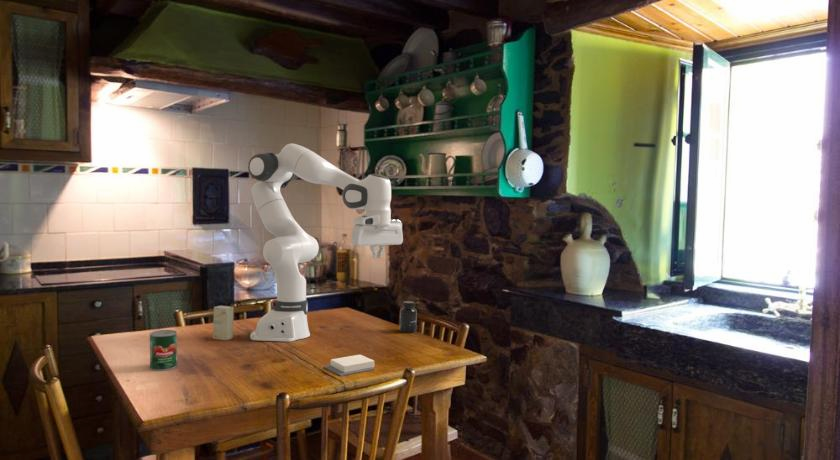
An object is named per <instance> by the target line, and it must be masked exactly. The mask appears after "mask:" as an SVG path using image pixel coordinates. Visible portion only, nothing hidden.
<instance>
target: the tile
mask: <svg viewBox="0 0 840 460" xmlns="http://www.w3.org/2000/svg"><path fill="white" fill-rule="evenodd" d="M330 365H331V366H332V367H334V368H336V369H338V370H340V371H342V372H344V373H346V372H351V371H357V370H362V369H367V368H375V366H376V365H375V360H374V359H372V358H369V357H367V356H365V355H363V354H354V355H348V356H344V357H338V358H337V357H336V358H331V359H330Z"/></svg>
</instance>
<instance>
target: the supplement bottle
mask: <svg viewBox="0 0 840 460" xmlns="http://www.w3.org/2000/svg"><path fill="white" fill-rule="evenodd" d="M415 303H416V302H415V301H410V300H407V301H402V308H401V309H400V310H399V331H400V332H401V333H406V334H413V333H416V332H417V322H418V321H417V320H418V319H417V317H418V312H417V311H418V310H417V309H416V307H415V306H416V304H415Z"/></svg>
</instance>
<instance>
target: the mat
mask: <svg viewBox="0 0 840 460" xmlns="http://www.w3.org/2000/svg"><path fill="white" fill-rule="evenodd" d="M323 367H324V369H326V370H328V371H330V372H332V373H334V374H336V375H338V376H340V377H342V376H348V374H349V375H353V373H355V374H359V372H360V373H364V372H365V373H366V372H370V371H374V370H375V367H372V368H367V369H362V370H357V371H351V372H346V373H344V372H342V371H340V370H338V369H336V368H334V367H332V366H331V364H328V365H324V366H323Z"/></svg>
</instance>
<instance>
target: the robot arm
mask: <svg viewBox="0 0 840 460" xmlns="http://www.w3.org/2000/svg"><path fill="white" fill-rule="evenodd" d="M247 168H248V169H247V170H248V173H249V175H250V176H251V177H252V178H253V179H254V180H257V182H255V183H254V185H252V187H251V195H252V196H251V197H252V199H253V202H254V206H255V208H256V212H257V213H258V215H259V217H260V219H261V222H262V223H263V226H264V228H265V230H267V232H269V233H270V234H272V235H274V236H275V237H274V238H271V239H269V240H267V241H266V242H265V243H264V246H263V248H262V255H263V258H264V260H265V261H266V263H267V264H269V265H270V266H271V267H272V271H273V272H274V275H275V280H276V298H274V299H272V300H271V310H270V311H268V312H267V313H265V314H264V315H263V316H262V317H261V318H260V319H258V321H257V324H256V329H255V330H253V331H252V332H251V333H250V335H249V338H250V340H252V341H263V342H266V341H268V342H290V343H291V342H294V341H296V340H303V339H305V338H308V337H310V336H311V333H310V330H309V329H310V328H309V325H308V315H307V314H308V309H309V307H308V305H309V304H308V303H309V302H308V299H307V279H306V278H305V277H304V275H302V274H301V273H300V270H299V264H302V263H307V262H309V261H312V260H313V259H314V258H317V255H318V254H319V249H320V245H319V242H318V241H317V239H316V238H315V237H313V236H312V235H310V234H308V233H307V232H306V231H305V230H304V229H303V228H302V226H300V224H299V223H298V222H297V221H296V220H295V217H293V215H292V212H291V211H290V209H289V208H288V205H287V203H286V201H285V199H284V197H283V195H282V192H281V188H282V189H284V188H286V187H287V186H288V185H289V183H291V182H292V181H294V179H295V178H296V177H298V178H300V179H301V180H304V181H305V182H308V183H312V184H315V185H326V186H327V185H328V186H333V187H336V188H339V189H341V190H342V193H341V194H342V195H341V198H342V202H343V204H344V205H345V206H346V207H347V208H348V209H352V210H365V211H366V212H365V214H363V215H360V216H356V217H354V218H353V224H354V225H353V226H352V229H351V239H350V241H351V244H352V246H356V247H369V248H370V251H371V253H372V258H373V259H381V258H383V252H384V250H385V249H386V246H395V245H398V246H399V245H402V244H403V242H404V237H403V236H404V235H403V222H402V221H401V220H399V218H398V219H392V217H391V214H392V209H391V201H392V184H391V180H390V178H389V177H388V176H386V175H383V174H377V173H370V174H368V175H367V176H366V177H365V178H363V179H361V180H360V179H358V178H357V177H355V176H353V175H351V174H349V173H348V172H346V171H344V170H341V169H340V168H338V167H337V166H336V165H334V164H332V163H330V161H328V160H327V159H325V158H323V157H322V156H320V155H319V154H317V153H316V152H315V151H313V150H311V149H309V148H307V147H305V146H303V145H299V144H297V143H288V144H285V146H283V147H282V148H281V151H280V152H279V153H278V154H277V153H274V152H261V153H257V154H255V155H253V156H252V157H250V159H249V161H248V165H247ZM377 246H378V251H377V250H376V249H377Z"/></svg>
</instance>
